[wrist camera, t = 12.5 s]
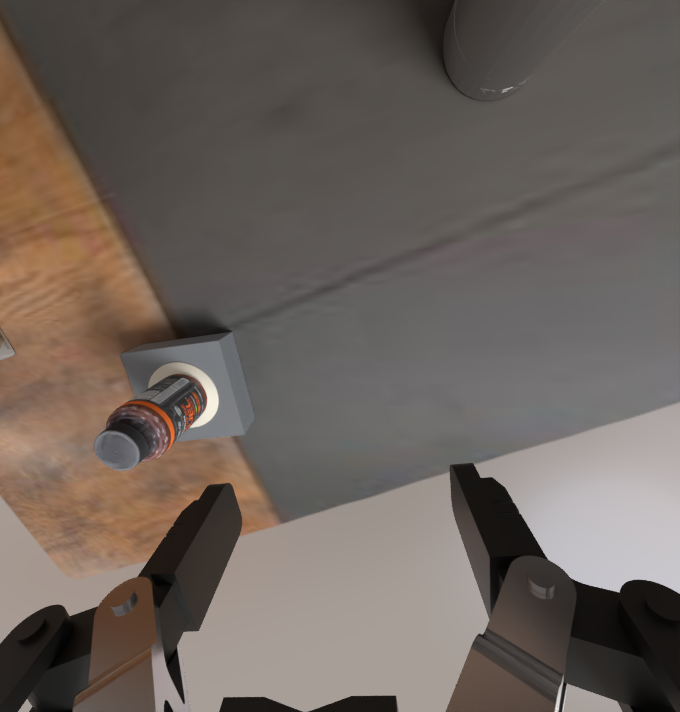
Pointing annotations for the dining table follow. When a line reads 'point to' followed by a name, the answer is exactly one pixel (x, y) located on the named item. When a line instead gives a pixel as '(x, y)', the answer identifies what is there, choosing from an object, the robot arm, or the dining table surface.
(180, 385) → the supplement bottle
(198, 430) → the base block
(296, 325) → the dining table surface
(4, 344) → the coffee box
